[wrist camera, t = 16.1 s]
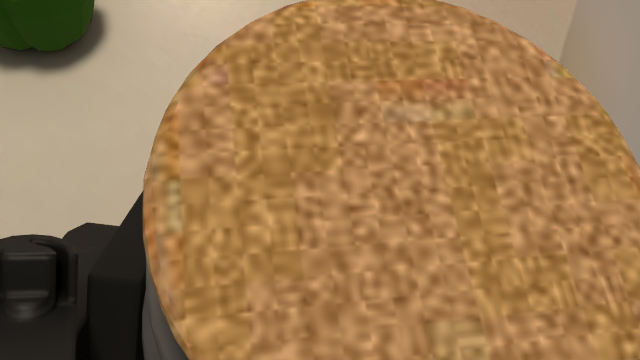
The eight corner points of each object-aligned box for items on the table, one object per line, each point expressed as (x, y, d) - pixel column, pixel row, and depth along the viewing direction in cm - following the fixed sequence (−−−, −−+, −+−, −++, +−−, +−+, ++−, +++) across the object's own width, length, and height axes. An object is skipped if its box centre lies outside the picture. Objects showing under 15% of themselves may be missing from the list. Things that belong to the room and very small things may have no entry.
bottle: (155, 466, 17) (-83, 493, 4) (210, 276, 20) (191, -114, 6) (348, 507, 17) (788, 675, 4) (377, 315, 20) (697, 24, 7)
